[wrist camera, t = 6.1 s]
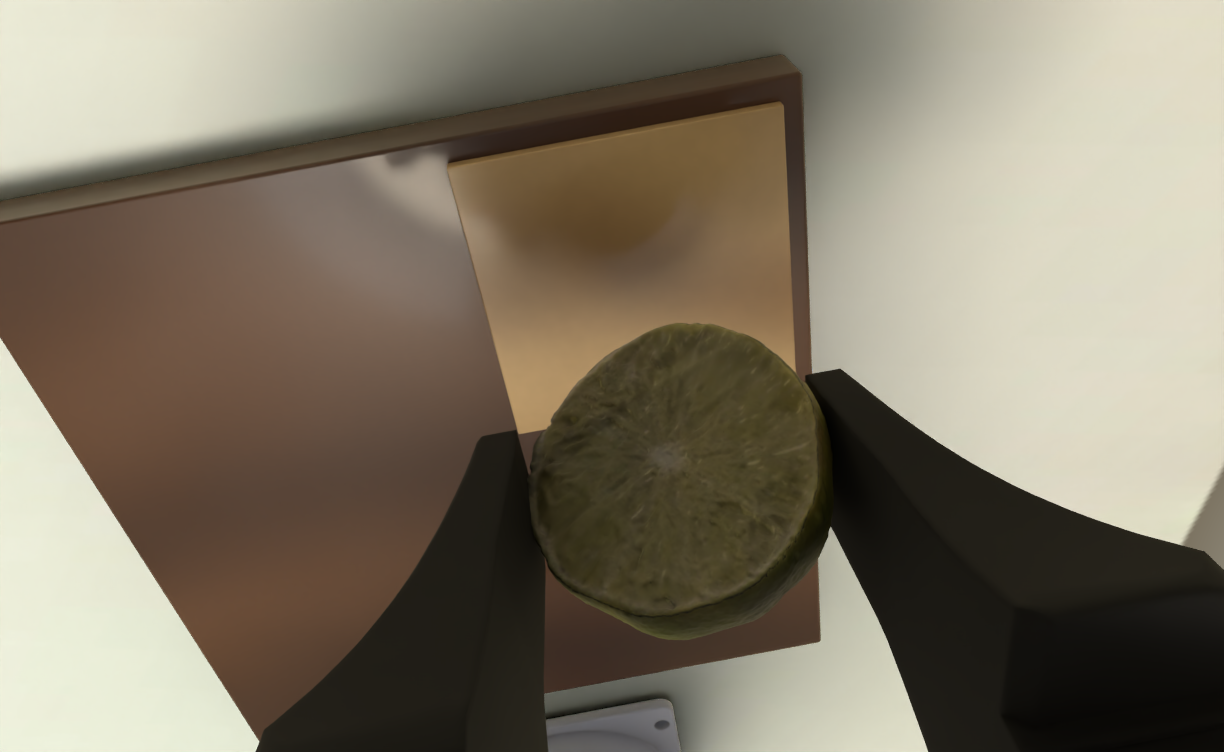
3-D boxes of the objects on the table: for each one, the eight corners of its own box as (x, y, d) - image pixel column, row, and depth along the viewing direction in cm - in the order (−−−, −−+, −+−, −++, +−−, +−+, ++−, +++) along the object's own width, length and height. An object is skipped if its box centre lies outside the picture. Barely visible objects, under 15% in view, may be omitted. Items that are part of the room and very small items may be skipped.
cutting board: (808, 606, 30) (824, 650, 28) (271, 707, 30) (259, 756, 28) (783, 52, 19) (807, 75, 18) (-32, 205, 19) (-76, 241, 18)
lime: (501, 458, 17) (506, 677, 13) (614, 244, 15) (661, 424, 11) (703, 519, 18) (764, 732, 14) (832, 332, 16) (949, 522, 12)
